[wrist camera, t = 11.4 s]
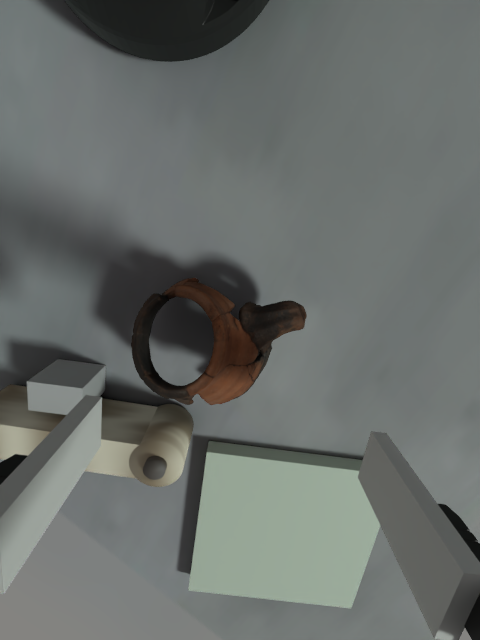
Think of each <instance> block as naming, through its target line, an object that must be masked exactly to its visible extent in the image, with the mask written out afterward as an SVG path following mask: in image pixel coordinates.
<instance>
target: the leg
mask: <svg viewBox="0 0 480 640" xmlns="http://www.w3.org/2000/svg"><path fill="white" fill-rule="evenodd" d="M65 416H66V415H63V414H55V413H47V412H39V411H31V410H28V394H27V387H24V386H18V385H11V384H10V385H9V386H7V387H6V388H4V389H3V390H1V391H0V459H4V460H6V459H8V458H9V457H11V456H13V455H15V454H19V455H27V456H28V455H29V454H30V453H31V452H32V451H33V450H34V449H35V448H36V447H37V446H38V445H39V444H40V443H41V442H42V441H43V439H44V438H45V437H46V436H47V435H48V434H49V433H50V432H51V431H52V430H53V429H54V428H55V427H56V426H57V425H58V424H59V423H60V422H61V421H62V420H63V418H64V417H65ZM193 425H194V424H193V419H192V417H191V415H190V413H189V412H188V411H187V410H186V409H184V408H183V407H181V406H178V405H175V404H164V405H161V406H159V407H155V406H149V405H142V404H136V403H129V402H123V401H116V400H109V399H103V398H102V419H101V447H100V448H99V450H98V451H97V453H96V454H95V456H94V457H93V459H92V460H91V462H90V463H89V465H88V466H87V468H86V469H85V471H87V472H94V473H101V474H108V475H115V476H122V477H129V478H136V479H138V480H139V481H140V482H142V483H144V484H146V485H150V486H155V487H162V486H167V485H170V484H172V483H174V482H175V481H176V480H177V479H178V478H179V477H180V476H181V474H182V471H183V467H184V463H185V459H186V455H187V451H188V447H189V443H190V439H191V435H192V431H193Z"/></svg>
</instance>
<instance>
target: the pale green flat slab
mask: <svg viewBox="0 0 480 640" xmlns="http://www.w3.org/2000/svg"><path fill="white" fill-rule="evenodd" d="M105 371H106V365H100V364H92V363H84V362H77V361H69V360H62V359H57V360H56V361H55V362H53V363H52V364H50V365H49V366H48V367H46V368H45V369H43V370H42V371H41V372H39V373H38V374H36V375H35V376H34V377H32V378H31V379H29V380H28V381H27V394H28V410H31V411H39V412H47V413H55V414H63V415H67V414H68V413H69V412H70V411H71V410H72V409H73V408H74V407H75V406H76V405H77V404H78V403H79V402H80V401H81V400H82V399H83V397H84V396H85V395H90V396H98V397H100V396H101V395H102V393H103V392H104V391H105ZM362 461H363V460H358V459H350V458H342V457H334V456H326V455H318V454H310V453H302V452H294V451H286V450H278V449H270V448H262V447H254V446H247V445H239V444H231V443H223V442H215V441H209V442H208V448H207V455H206V462H205V470H204V477H203V485H202V492H201V499H200V507H199V514H198V522H197V529H196V537H195V544H194V552H193V559H192V567H191V574H190V582H189V589H188V590H189V591H198V592H207V593H216V594H225V595H234V596H243V597H252V598H262V599H271V600H280V601H289V602H298V603H307V604H316V605H325V606H334V607H344V608H352V605H353V602H354V599H355V597H356V594H357V591H358V588H359V585H360V582H361V579H362V576H363V574H364V571H365V568H366V565H367V562H368V559H369V556H370V553H371V551H372V548H373V545H374V542H375V539H376V536H377V533H378V531H379V528H380V523H379V521H378V519H377V517H376V515H375V513H374V511H373V509H372V506H371V504H370V502H369V500H368V498H367V496H366V494H365V492H364V490H363V488H362V485H361V483H360V481H359V479H358V474H359V471H360V468H361V464H362Z"/></svg>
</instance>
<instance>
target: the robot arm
mask: <svg viewBox="0 0 480 640" xmlns="http://www.w3.org/2000/svg"><path fill="white" fill-rule="evenodd" d="M64 1H65V2H66V3H67V4H68V6H69V7H70V8H71V9H72V11H73V12H74V13H75V14H76V15H77V16H78V17H79V18H80V20H81V21H82V22H83V23H84V24H85V25H87V26H88V27H89V28H90V29H91V30H92V31H93V32H94V33H96V34H97V35H98V36H99V37H101V38H102V39H104V40H105V41H107V42H108V43H110V44H111V45H113V46H115V47H117V48H118V49H121V50H123V51H125V52H127V53H129V54H132V55H135V56H138V57H141V58H145V59H150V60H156V61H169V62H172V61H184V60H190V59H194V58H198V57H201V56H204V55H207V54H209V53H212V52H214V51H216V50H218V49H220V48H222V47H223V46H225V45H226V44H228V43H230V42H231V41H232V40H234V39H235V38H236V37H238V36H239V35H240V34H241V33H242V32H243V31H244V30H246V29H247V28H248V27H249V26H250V24H251V23H252V22H253V21H254V20H255V19H256V18H257V17H258V15H259V14H260V13H261V12H262V10H263V9H264V7H265V6H266V4H267V3H268V1H269V0H64ZM101 419H102V397H98V396H90V395H85V396H84V397H83V399H82V400H81V401H80V402H79V403H78V404H77V405H76V406H75V407H74V408H73V409H72V410H71V411H70V412H69V413H68V414H67V415H66V416H65V417H64V418H63V420H62V421H61V422H60V423H59V424H58V425H57V426H56V427H55V428H54V429H53V430H52V431H51V432H50V433H49V434H48V435H47V436H46V437H45V438H44V439H43V441H42V442H41V443H40V444H39V445H38V446H37V447H36V448H35V449H34V450H33V451H32V452H31V453H30V454H29V455H28V456H27V455H19V454H15V455H13V456H11V457H9V458H8V459H6V460H4V461H3V462H1V463H0V593H1V594H4V593H5V592H6V590H7V588H8V587H9V585H10V584H11V582H12V581H13V579H14V578H15V576H16V575H17V573H18V572H19V570H20V569H21V567H22V566H23V564H24V563H25V561H26V560H27V558H28V556H29V555H30V553H31V552H32V550H33V549H34V547H35V546H36V544H37V543H38V541H39V540H40V538H41V536H42V535H43V534H44V532H45V530H46V529H47V527H48V526H49V524H50V523H51V521H52V520H53V518H54V517H55V515H56V514H57V512H58V511H59V509H60V508H61V506H62V505H63V503H64V501H65V500H66V498H67V497H68V495H69V494H70V492H71V491H72V489H73V488H74V486H75V485H76V483H77V482H78V480H79V479H80V477H81V476H82V474H83V472H84V471H85V469H86V468H87V466H88V465H89V463H90V462H91V460H92V459H93V457H94V456H95V454H96V453H97V451H98V450H99V448H100V447H101ZM358 479H359V481H360V483H361V485H362V488H363V490H364V492H365V494H366V496H367V498H368V500H369V502H370V504H371V506H372V509H373V511H374V513H375V515H376V517H377V519H378V521H379V523H380V525H381V528H382V530H383V532H384V534H385V536H386V538H387V540H388V542H389V544H390V546H391V549H392V551H393V553H394V555H395V557H396V559H397V561H398V563H399V565H400V567H401V570H402V572H403V574H404V576H405V578H406V580H407V582H408V584H409V586H410V589H411V591H412V593H413V595H414V597H415V599H416V601H417V603H418V605H419V607H420V610H421V612H422V614H423V616H424V618H425V620H426V622H427V624H428V626H429V628H430V631H431V633H432V635H433V637H434V639H443V640H459V638H460V636H461V634H462V632H463V630H464V628H466V630H467V632H468V633H469V635H470V637H471V639H472V640H480V544H479V543H478V540H477V539H476V538H475V536H474V535H473V534H472V533H471V532H470V531H469V529H468V527H467V526H466V525H465V523H464V522H463V521H462V519H461V518H460V517H459V516H458V515H457V514H456V513H455V512H453V511H452V510H451V509H450V508H449V507H448V506H447V505H444V504H437V503H436V501H435V500H434V498H433V497H432V496H431V494H430V493H429V491H428V490H427V489H426V487H425V486H424V485H423V483H422V482H421V480H420V479H419V478H418V476H417V475H416V473H415V472H414V471H413V469H412V468H411V467H410V465H409V464H408V462H407V461H406V460H405V458H404V457H403V455H402V454H401V453H400V451H399V450H398V449H397V447H396V446H395V444H394V443H393V442H392V440H391V439H390V437H389V436H388V435H387V433H381V432H373V431H371V434H370V437H369V440H368V444H367V447H366V451H365V454H364V457H363V461H362V464H361V468H360V471H359V474H358Z"/></svg>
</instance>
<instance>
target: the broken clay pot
mask: <svg viewBox="0 0 480 640" xmlns="http://www.w3.org/2000/svg"><path fill="white" fill-rule="evenodd" d="M198 282H199V280H198V279H196V278H191V279H185V280H182V281H180V282H178V283H176V284H174V285H173V286H171V287H170V288H169V289H168V290H166V291H165V292H164V293H163V294H162V295H161V294H153V295H151V296H150V298H149V299H148V300H147V301H146V302H145V303H144V305H143V307H142V308H141V310H140V311H139V313H138V315H137V317H136V320H135V323H134V328H133V335H132V343H131V347H132V356H133V360H134V364H135V368H136V370H137V372H138V374H139V376H140V378H141V379H142V380H144V383H145V384H146V385H147V386H148V387H149V388H150V389H151V390H152V391H153V392H155V393H157V394H158V395H160V396H162V397H164V398H165V399H169V398H171V399H175V400H177V401H178V402H181V403H184V404H187V405H190V404H192V403H193V400H192V398H193V397H194V395H195V394H199V395H200V397H201V398H202V399H204V400H205V402H207V403H209V404H210V405H214V404H222V403H225V402H228V401H230V400H232V399H235V398H237V397H239V396H241V395H243V394H244V393H245V392H247V391H248V390H249V388H250V387H251V386H252V385H253V384H254V382H255V380H256V379H257V378H258V376H259V374H260V373H261V371H262V370H263V368H264V367H265V365H266V363H267V360H268V358H269V355H270V352H271V349H272V347H271V343H272V341H273V340H275V339H276V338H278V337H280V336H281V335H283V334H285V333H288V332H291V331H295V330H301V329H303V328H304V324H305V319H306V312H305V309H304V307H303V306H302V305H300V304H298V303H296V302H294V301H282V302H278V303H275V304H269V305H266V306H260V305H259V306H258V305H256V304H254V303H251V302H248V303H246V304H245V305H244V306H243V307H242V308H241V309H240V311H239V319H240V321H239V320H237V318H235V317H233V316H232V315H231V313H230V312H231V311H232V310H233V309H234V307H235V305H234V304H233V302H231V301H230V300H229V299H228V298H226V297H225V296H224V295H222V294H221V293H219V292H218V291H217V290H215V289H212V288H210V287H208V286H206V285H204V284H201V283H198ZM176 296H177V297H182V298H188V299H191V300H193V301H195V302H196V303H198V304H199V305H200V306H201V307H202V308H203V309H204V311H205V312H206V314H207V315H208V317H209V319H210V320H211V322H212V327H213V332H214V346H213V353H212V357H211V360H210V362H209V365H208V366H207V368H206V370H205V372H204V373H203V374H202V375H201V376H200V377H199V378H198V379H197V380H195V381H194V382H192V383H190V384H188V385H185V386H175V385H172V384H169V383H168V382H166V381H164V380H163V379H162V378H161V377H160V376H159V374H158V373H157V372H156V370H155V368H154V366H153V364H152V361H151V356H150V349H149V336H150V332H151V327H152V323H153V320H154V318H155V316H156V314H157V312H158V311H159V310H160V308H161V307H162V306H163V305H164V304H165V303H167V302H168V301H169V300H170V299H171V298H174V297H176ZM259 350H260V353H259V355H258V352H259Z"/></svg>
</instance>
